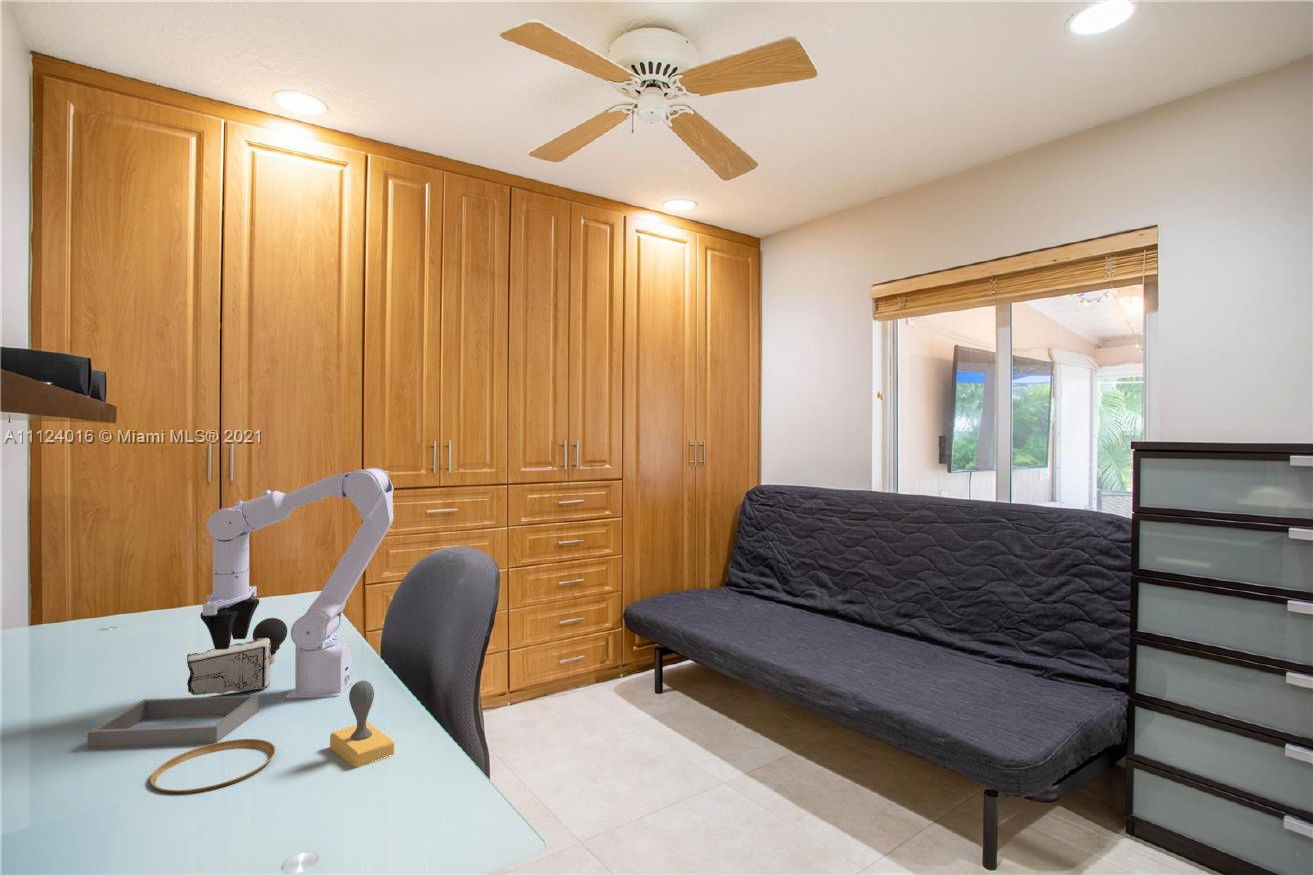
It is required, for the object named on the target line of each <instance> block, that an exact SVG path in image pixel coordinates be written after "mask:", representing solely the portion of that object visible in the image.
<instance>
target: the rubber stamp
mask: <svg viewBox="0 0 1313 875" xmlns="http://www.w3.org/2000/svg"><path fill="white" fill-rule="evenodd" d="M348 693H349V694H348V701H349V704H350V707H351V710H352V712H353V714H354V717H355V720H356V724H354V725H352V726H347V727H345V728H341V729H337V730H334V731H332V732H331V733H330V735H329V749H330V748H331V749H330V750H332V751H333V752H334V751H335V752H336V753H335V752H334V753H335V754H336V755H338V756H339V755H340V757H341V758H342V759H343V760H345V762H346V763H348V764H349V765H351V766H352V767H353V766H354V769H355V768H361V767H363V766H362V765H364V766H367V765H369V764H368V763H370V762H372V761H375V760H378V759H381V758H384V757H386V756H389V755H393V754H394V755H395V741H394V740H393V739H391V738H390V737H389V736H388V735H386V734H385V733H383V731H380V730H379V729H378V728H376V727H375V726H373V725H372V724H371V723H369V722H368V721H367V719H368V717H369V716H368V715H369V713H370V710H371V708H372V705H373V702H374V697H375V690H374V687H373V685H372V684H371V682H369V681H367V680H359V681H357V682H355V684H353V685H352V686H351V688H350V691H349V692H348ZM394 755H393V756H394ZM366 764H367V765H366ZM370 764H371V763H370ZM360 766H361V767H360Z"/></svg>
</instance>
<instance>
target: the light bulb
mask: <svg viewBox="0 0 1313 875" xmlns="http://www.w3.org/2000/svg"><path fill="white" fill-rule="evenodd" d="M287 635H288V627H287V625H286V623H285V622H284V621H283V620H282V619H279V618H275V617H268V618H265V619H263V620H261V621H260V622H258V623H257V624H256V626H255V627H254V629H253V632H252V641H253V640H257V639H260V638H262V639H263V638H268V639H270V643H271V645H270V646H271V648H270V653H271V657H270V664H269V665H270V666H271V665H273V664H274V663H276V661H277V651H278V650H280V648H281V647H280V646H281V645H282V644H283V643H284V642H285V640H286V638H287V637H288V636H287Z"/></svg>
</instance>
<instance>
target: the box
mask: <svg viewBox="0 0 1313 875" xmlns="http://www.w3.org/2000/svg"><path fill="white" fill-rule="evenodd" d="M258 713H259V694H258V695H257V694H256V695H254V694H253V695H251V694H250V695H227V696H226V695H225V696H200V697H198V696H197V697H176V698H175V697H173V698H171V697H169V698H146V699H142V700H140V701H139V702H137V703H135V704H134V705H132V706H131V707H129V708H126V709H125V710H123V711H122V712H120V713H118V714H117V715H115V716H113V717H112V718H110V719H108V720H106V721H105V722H103V723H101V724H100V725H98V726H96V727H94V728H92V729H91V730H89V731H88V732H87V749H89V750H92V749H93V750H94V749H95V750H96V749H111V748H113V749H114V748H116V749H117V748H134V747H152V746H154V747H155V746H157V747H159V746H177V745H197V744H198V745H200V744H201V745H202V744H214V743H218V742H221V741H222V740H223V739H224V738H225V737H227V736H228V735H229V734H231V733H232V732H234V731H235V730H236V729H238V728H239V727H241V725H243V724H244V723H246V722H247V721H249V720H250V719H251V718H252V717H254V716H255V715H256V714H258ZM218 716H223V718H221V719H220V720H219V721H218V722H216V723H215V724H207V725H206V724H205V725H183V726H182V725H181V726H180V725H179V726H177V725H176V726H160V727H159V726H158V727H156V726H155V727H152V726H151V727H137V728H136V727H134V726H136V725H137V724H139V723H140V722H142V721H145V720H148V719H168V718H171V719H173V718H191V717H193V718H194V717H195V718H196V717H218Z"/></svg>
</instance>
